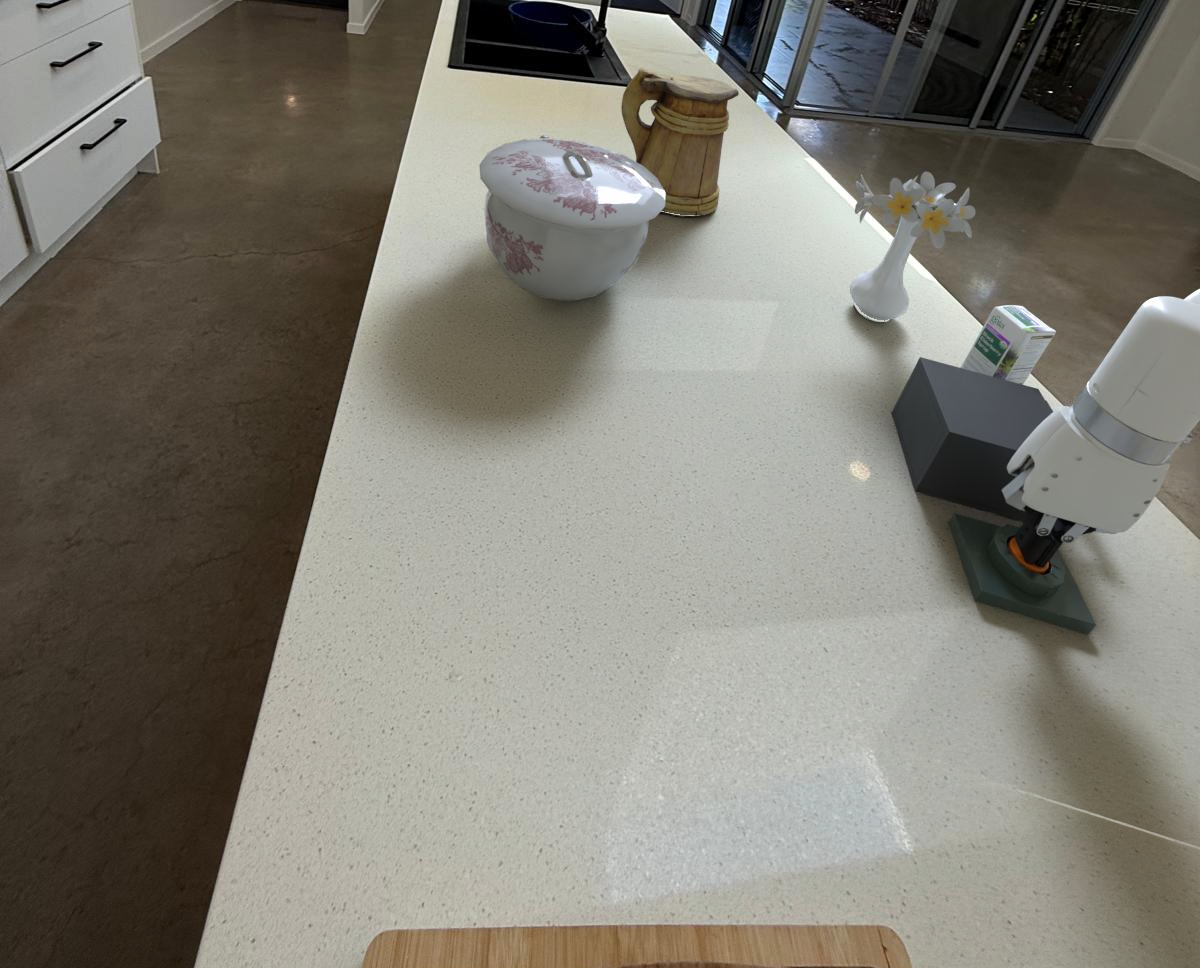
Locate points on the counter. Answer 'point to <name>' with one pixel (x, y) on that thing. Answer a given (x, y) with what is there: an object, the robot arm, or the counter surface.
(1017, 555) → the button
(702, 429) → the counter surface
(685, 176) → the tankard
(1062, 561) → the panel
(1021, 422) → the dark grey cabinet
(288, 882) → the counter surface
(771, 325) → the counter surface
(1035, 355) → the syrup box
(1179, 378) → the robot arm
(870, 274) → the flower vase
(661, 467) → the counter surface
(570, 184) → the chamber pot
